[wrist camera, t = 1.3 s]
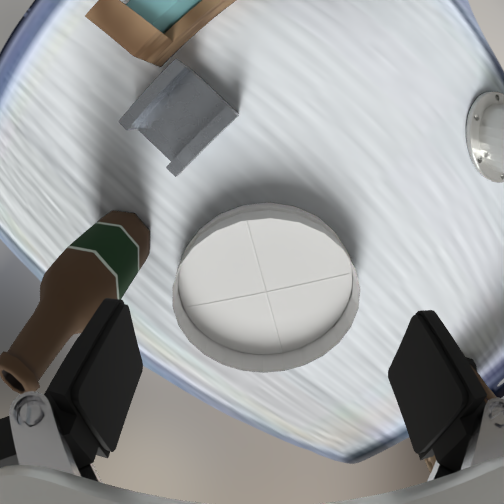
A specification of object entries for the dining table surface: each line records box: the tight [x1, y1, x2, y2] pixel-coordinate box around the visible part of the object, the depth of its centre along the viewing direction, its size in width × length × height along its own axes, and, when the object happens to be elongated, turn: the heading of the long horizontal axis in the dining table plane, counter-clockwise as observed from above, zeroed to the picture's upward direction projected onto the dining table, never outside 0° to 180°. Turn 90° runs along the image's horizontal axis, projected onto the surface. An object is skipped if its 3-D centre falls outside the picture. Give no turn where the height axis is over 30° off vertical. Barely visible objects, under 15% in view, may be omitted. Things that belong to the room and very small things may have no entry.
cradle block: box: [119, 59, 239, 177], centre depth 27 cm, size 8×8×5 cm
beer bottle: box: [0, 210, 150, 394], centre depth 24 cm, size 8×8×24 cm
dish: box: [173, 202, 360, 373], centre depth 36 cm, size 22×22×5 cm
